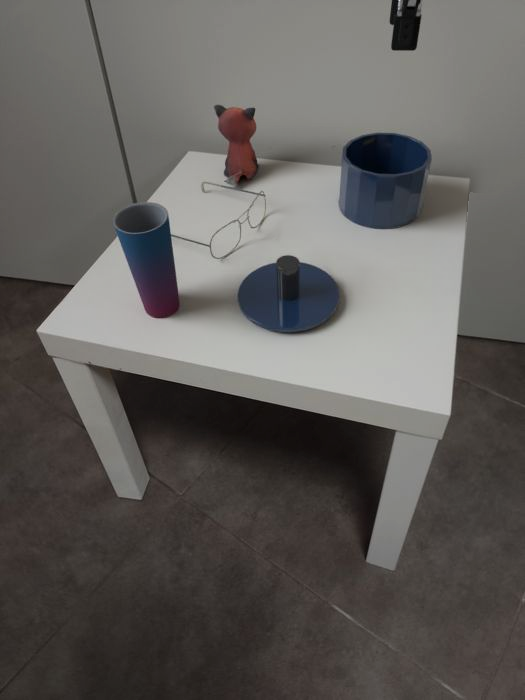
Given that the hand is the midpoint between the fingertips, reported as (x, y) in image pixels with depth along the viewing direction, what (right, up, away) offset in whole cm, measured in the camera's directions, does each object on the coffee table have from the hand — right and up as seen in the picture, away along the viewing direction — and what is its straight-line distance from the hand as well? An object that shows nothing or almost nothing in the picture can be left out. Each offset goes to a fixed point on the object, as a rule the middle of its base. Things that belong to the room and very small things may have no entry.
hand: (402, 36), depth 73 cm
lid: (-15, -35, +4) cm, 38 cm away
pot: (+1, -18, +19) cm, 26 cm away
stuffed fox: (-24, -10, +28) cm, 38 cm away
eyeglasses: (-28, -22, +18) cm, 39 cm away
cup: (-33, -36, +5) cm, 49 cm away
